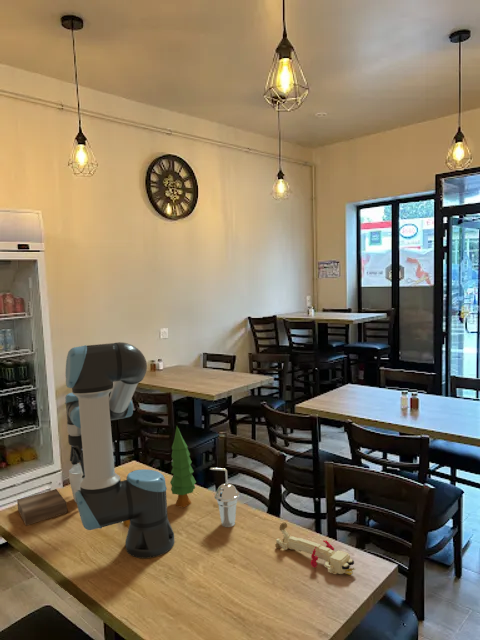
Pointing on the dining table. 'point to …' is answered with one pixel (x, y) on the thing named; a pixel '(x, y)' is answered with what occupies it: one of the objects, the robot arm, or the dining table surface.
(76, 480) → the cup
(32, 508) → the riser
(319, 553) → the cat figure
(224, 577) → the dining table surface
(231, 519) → the cup with straw
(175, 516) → the dining table surface
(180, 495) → the decorative tree
